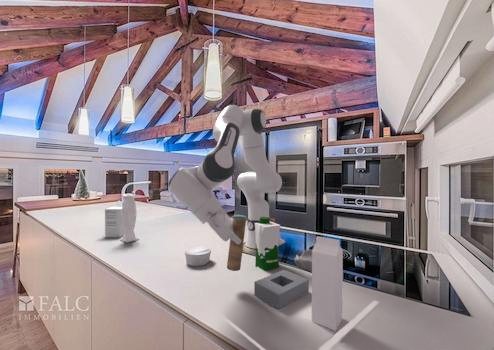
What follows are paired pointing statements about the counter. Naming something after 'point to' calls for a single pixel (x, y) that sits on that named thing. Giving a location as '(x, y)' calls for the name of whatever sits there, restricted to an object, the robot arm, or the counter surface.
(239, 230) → the peg
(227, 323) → the counter surface
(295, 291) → the socket block
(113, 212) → the supplement box
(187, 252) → the ramekin
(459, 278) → the counter surface
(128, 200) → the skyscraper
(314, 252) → the milk
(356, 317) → the counter surface
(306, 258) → the dish
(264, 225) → the milk carton
